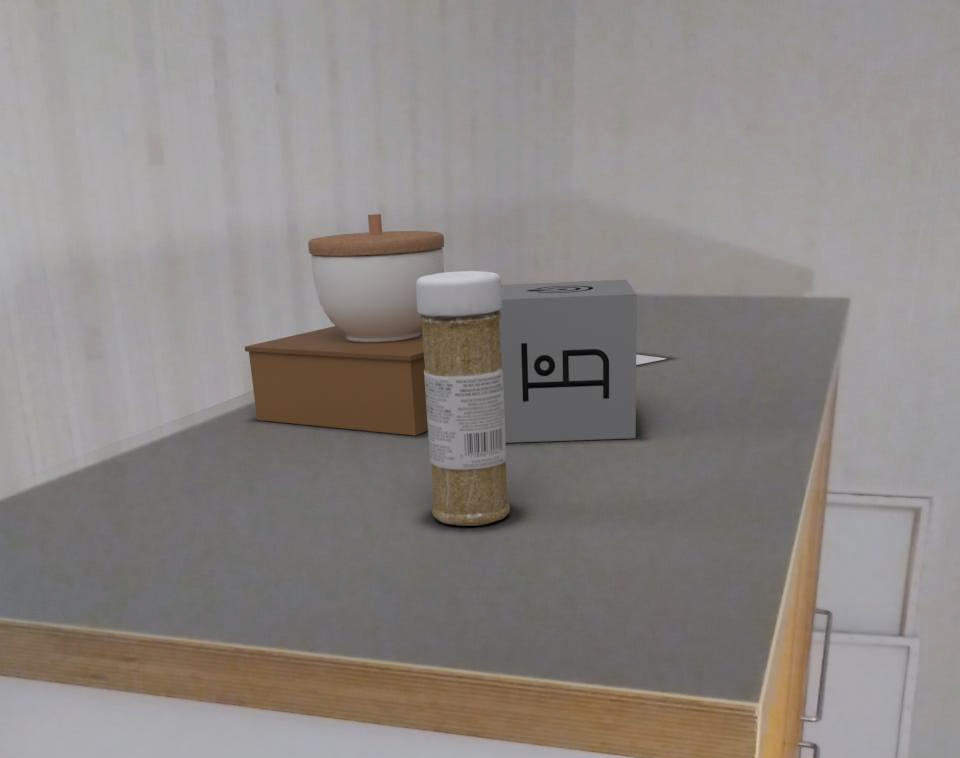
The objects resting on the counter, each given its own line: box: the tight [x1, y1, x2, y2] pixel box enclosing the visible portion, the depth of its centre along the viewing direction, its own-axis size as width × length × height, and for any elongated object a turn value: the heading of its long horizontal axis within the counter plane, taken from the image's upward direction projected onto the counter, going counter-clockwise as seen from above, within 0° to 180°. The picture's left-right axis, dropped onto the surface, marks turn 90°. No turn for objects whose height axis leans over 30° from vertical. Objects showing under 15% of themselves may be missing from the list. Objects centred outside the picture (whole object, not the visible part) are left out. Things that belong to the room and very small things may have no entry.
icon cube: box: [499, 279, 638, 444], centre depth 84 cm, size 10×10×10 cm
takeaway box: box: [244, 325, 428, 437], centre depth 93 cm, size 16×14×6 cm
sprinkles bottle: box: [416, 270, 511, 527], centre depth 62 cm, size 5×5×13 cm
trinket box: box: [307, 213, 445, 342], centre depth 90 cm, size 11×11×9 cm
